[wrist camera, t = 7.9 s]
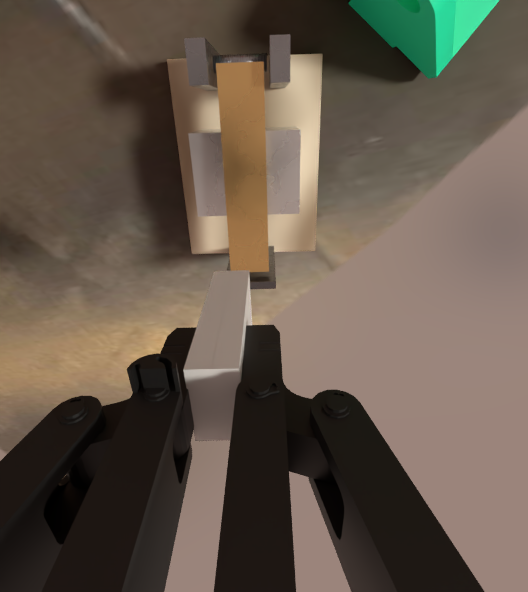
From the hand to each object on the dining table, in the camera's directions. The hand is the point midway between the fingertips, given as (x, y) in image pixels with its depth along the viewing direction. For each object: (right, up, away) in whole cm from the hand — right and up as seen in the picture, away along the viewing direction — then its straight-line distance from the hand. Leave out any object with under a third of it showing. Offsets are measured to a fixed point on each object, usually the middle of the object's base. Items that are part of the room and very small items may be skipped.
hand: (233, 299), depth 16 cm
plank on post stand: (0, +12, +16) cm, 19 cm away
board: (0, +12, +17) cm, 21 cm away
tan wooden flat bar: (0, +9, +10) cm, 14 cm away
